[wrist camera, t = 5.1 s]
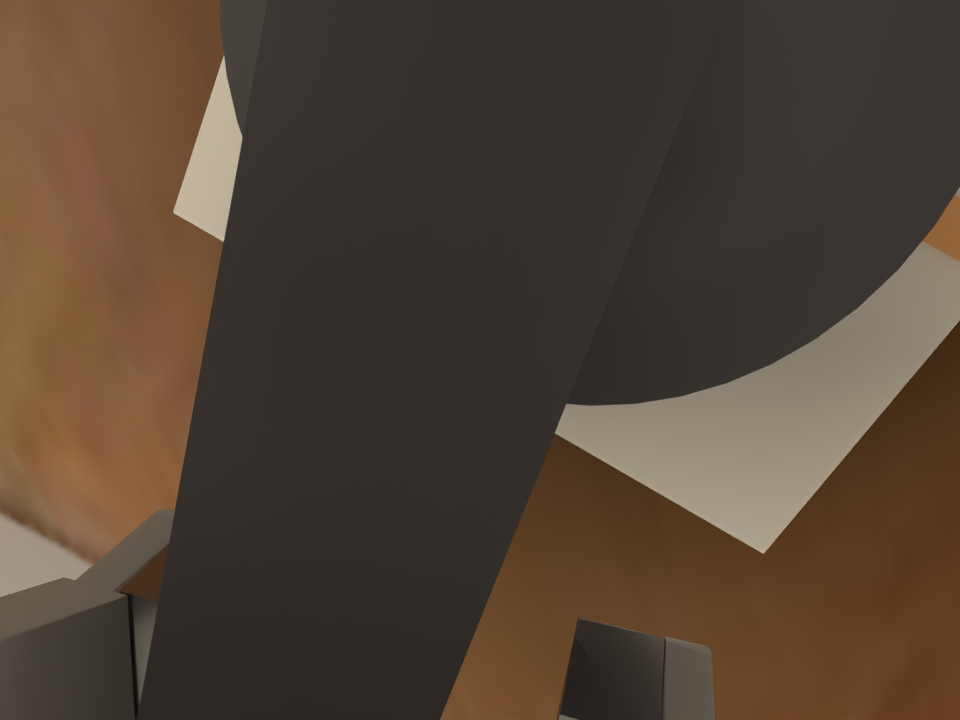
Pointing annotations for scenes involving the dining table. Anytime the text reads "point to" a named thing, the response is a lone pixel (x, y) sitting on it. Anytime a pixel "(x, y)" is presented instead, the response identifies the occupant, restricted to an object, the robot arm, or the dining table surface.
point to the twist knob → (502, 293)
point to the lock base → (725, 408)
